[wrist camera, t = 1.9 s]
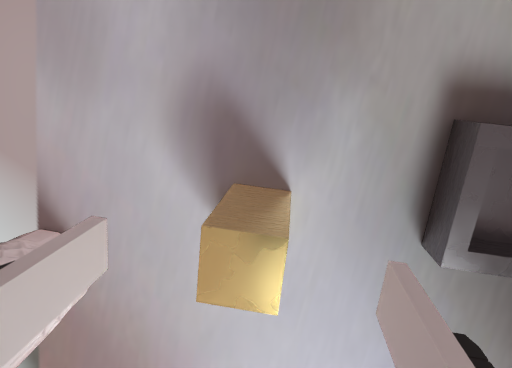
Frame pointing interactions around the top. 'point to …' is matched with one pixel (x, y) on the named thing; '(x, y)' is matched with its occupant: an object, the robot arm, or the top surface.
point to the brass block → (245, 249)
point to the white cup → (12, 252)
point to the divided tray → (474, 201)
